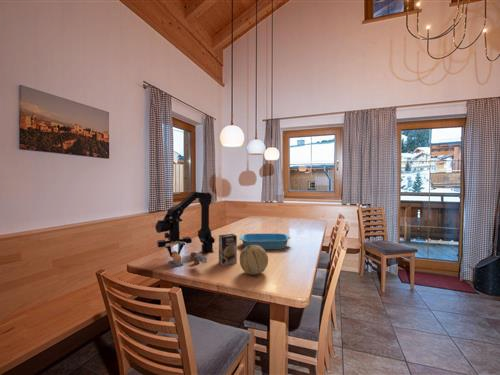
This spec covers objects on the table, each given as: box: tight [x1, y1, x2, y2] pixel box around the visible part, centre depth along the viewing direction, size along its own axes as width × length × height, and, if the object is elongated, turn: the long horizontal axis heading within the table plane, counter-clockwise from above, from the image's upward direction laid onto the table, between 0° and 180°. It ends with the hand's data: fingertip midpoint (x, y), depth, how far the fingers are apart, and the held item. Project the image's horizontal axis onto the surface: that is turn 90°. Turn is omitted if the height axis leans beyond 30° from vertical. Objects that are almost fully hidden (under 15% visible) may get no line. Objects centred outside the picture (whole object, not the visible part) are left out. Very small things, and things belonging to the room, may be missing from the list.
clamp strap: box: [196, 252, 208, 264], centre depth 127 cm, size 2×10×2 cm, turn 30°
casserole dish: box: [239, 232, 291, 250], centre depth 170 cm, size 37×22×7 cm, turn 88°
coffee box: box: [218, 233, 238, 266], centre depth 136 cm, size 9×6×16 cm
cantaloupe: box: [239, 245, 269, 276], centre depth 120 cm, size 15×15×15 cm
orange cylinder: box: [170, 250, 182, 262], centre depth 134 cm, size 9×4×4 cm, turn 30°
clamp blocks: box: [190, 251, 200, 265], centre depth 138 cm, size 2×9×4 cm, turn 30°
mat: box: [168, 259, 184, 268], centre depth 134 cm, size 6×10×1 cm, turn 30°
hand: (174, 256), depth 137 cm, fingers closed on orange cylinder, 4 cm apart
